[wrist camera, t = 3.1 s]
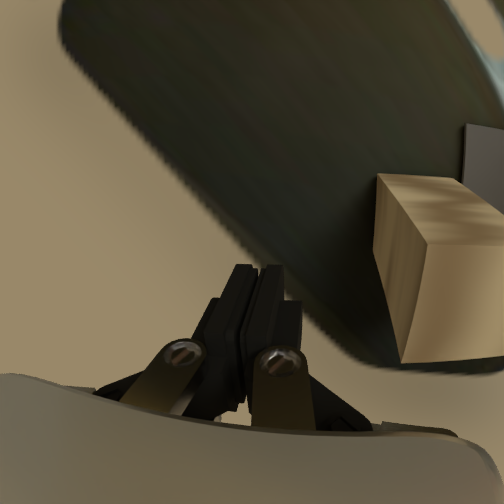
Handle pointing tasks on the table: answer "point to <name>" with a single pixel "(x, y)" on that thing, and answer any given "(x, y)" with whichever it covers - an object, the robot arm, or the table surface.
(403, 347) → the maple block
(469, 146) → the mat
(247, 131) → the table surface
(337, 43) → the table surface
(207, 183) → the table surface
